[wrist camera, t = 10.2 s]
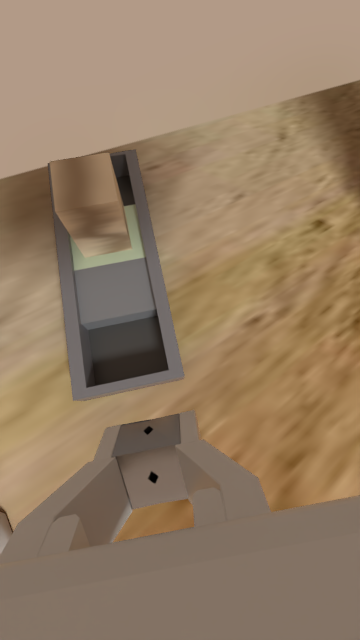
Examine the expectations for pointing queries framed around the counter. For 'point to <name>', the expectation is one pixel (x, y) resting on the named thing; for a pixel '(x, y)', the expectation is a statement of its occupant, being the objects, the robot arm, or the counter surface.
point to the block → (90, 204)
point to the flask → (4, 531)
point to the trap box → (117, 303)
